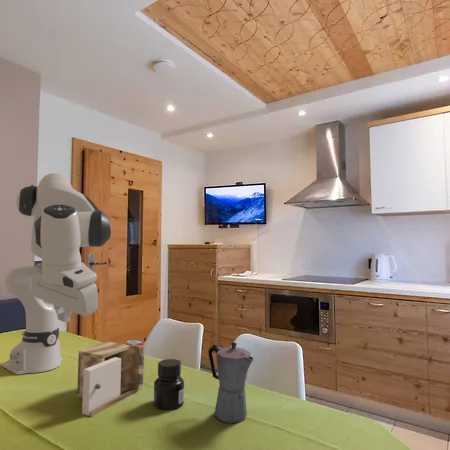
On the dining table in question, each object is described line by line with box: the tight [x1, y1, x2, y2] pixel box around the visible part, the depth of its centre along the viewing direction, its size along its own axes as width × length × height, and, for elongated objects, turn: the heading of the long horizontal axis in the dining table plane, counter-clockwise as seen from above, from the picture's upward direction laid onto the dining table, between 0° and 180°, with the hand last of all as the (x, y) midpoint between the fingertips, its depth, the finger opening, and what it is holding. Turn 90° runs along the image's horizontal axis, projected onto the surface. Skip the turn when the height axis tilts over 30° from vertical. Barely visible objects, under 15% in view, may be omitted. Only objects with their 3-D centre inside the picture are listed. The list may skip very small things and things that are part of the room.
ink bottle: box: [153, 358, 185, 411], centre depth 100 cm, size 10×9×12 cm
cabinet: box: [76, 341, 145, 418], centre depth 104 cm, size 15×21×14 cm
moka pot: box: [208, 342, 255, 424], centre depth 94 cm, size 10×15×20 cm, turn 58°
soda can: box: [125, 339, 145, 371], centre depth 123 cm, size 7×7×12 cm
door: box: [81, 357, 121, 417], centre depth 98 cm, size 3×12×12 cm, turn 154°
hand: (64, 320), depth 87 cm, fingers closed
